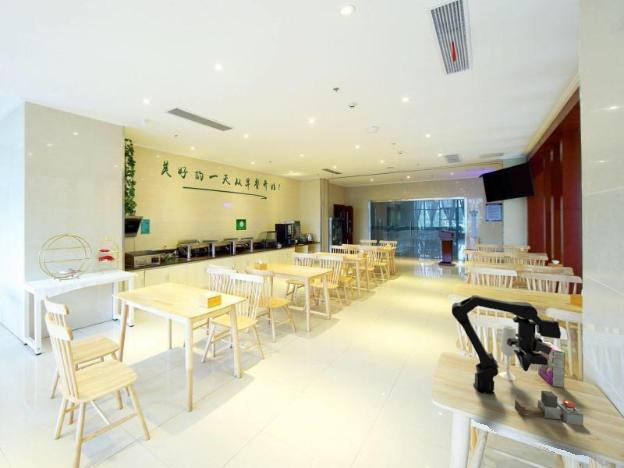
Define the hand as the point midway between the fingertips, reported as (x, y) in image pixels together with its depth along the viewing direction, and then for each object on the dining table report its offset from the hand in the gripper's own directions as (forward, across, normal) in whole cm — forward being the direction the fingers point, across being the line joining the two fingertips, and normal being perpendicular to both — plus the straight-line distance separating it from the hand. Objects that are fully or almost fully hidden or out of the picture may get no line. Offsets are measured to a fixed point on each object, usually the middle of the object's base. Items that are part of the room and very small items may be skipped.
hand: (525, 370), depth 115 cm
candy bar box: (+12, +18, -20) cm, 30 cm away
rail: (+12, -10, 0) cm, 15 cm away
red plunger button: (+12, -9, -10) cm, 18 cm away
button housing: (+12, -10, -10) cm, 18 cm away
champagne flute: (+12, +18, -2) cm, 22 cm away
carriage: (+12, -10, -3) cm, 16 cm away
